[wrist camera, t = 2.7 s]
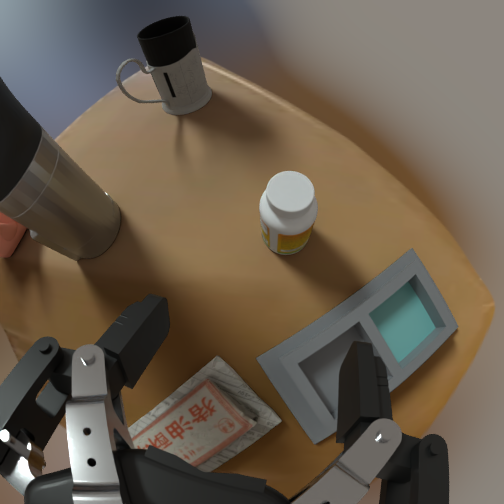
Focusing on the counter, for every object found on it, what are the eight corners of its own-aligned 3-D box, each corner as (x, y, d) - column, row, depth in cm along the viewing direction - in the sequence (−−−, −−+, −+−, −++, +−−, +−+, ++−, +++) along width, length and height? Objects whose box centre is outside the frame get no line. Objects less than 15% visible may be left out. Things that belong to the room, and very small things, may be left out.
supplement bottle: (317, 226, 31) (334, 182, 22) (293, 264, 30) (303, 232, 20) (277, 204, 32) (279, 154, 23) (252, 239, 31) (244, 199, 22)
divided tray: (313, 441, 24) (317, 452, 20) (256, 357, 27) (254, 360, 24) (454, 326, 26) (469, 324, 23) (409, 249, 29) (421, 241, 26)
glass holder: (222, 88, 39) (207, 14, 25) (166, 144, 36) (128, 67, 22) (184, 79, 41) (163, 14, 27) (131, 130, 38) (91, 64, 24)
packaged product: (160, 507, 18) (100, 445, 20) (173, 489, 22) (120, 434, 25) (284, 430, 21) (209, 356, 23) (282, 416, 25) (219, 353, 28)
